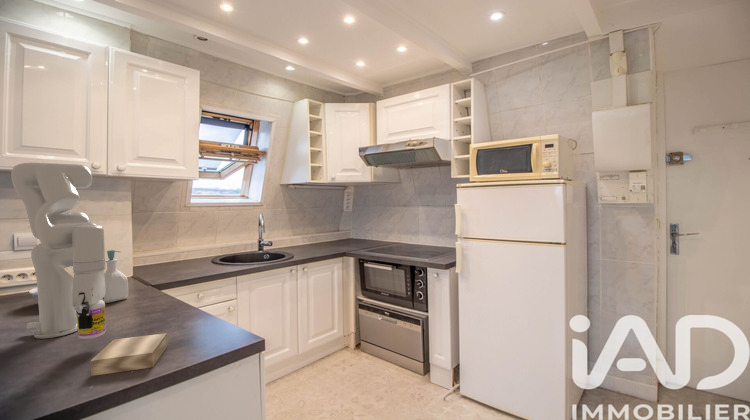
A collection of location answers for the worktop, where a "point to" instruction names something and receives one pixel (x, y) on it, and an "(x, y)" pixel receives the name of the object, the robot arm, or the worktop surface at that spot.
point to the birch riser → (129, 354)
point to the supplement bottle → (95, 321)
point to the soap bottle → (114, 281)
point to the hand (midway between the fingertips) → (91, 323)
